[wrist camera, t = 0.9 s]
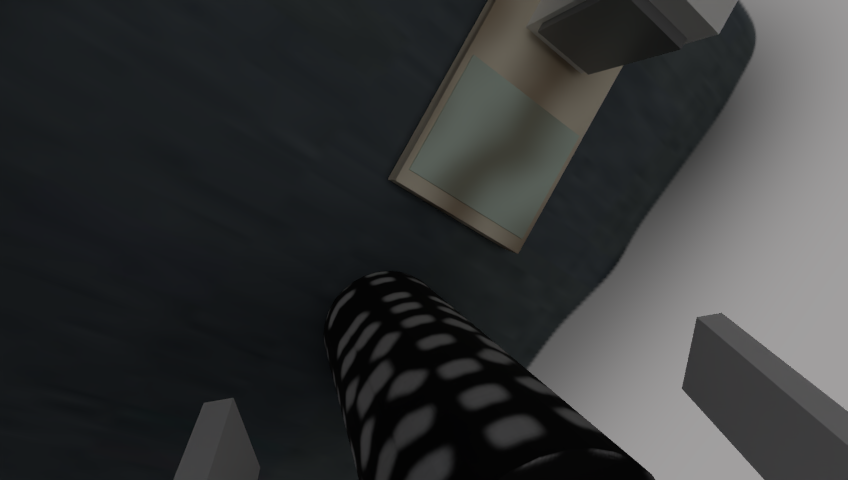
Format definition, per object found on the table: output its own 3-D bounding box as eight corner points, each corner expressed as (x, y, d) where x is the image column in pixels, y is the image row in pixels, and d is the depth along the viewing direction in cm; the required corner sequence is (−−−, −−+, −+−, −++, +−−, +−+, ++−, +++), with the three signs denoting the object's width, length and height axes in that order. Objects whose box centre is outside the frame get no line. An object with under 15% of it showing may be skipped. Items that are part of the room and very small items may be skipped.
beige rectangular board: (387, 179, 29) (396, 180, 27) (522, -62, 29) (541, -79, 27) (504, 248, 33) (519, 254, 31) (624, 32, 33) (647, 24, 31)
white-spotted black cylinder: (434, 259, 31) (670, 408, 12) (448, 368, 33) (674, 642, 14) (313, 285, 29) (378, 516, 10) (335, 401, 31) (427, 778, 12)
